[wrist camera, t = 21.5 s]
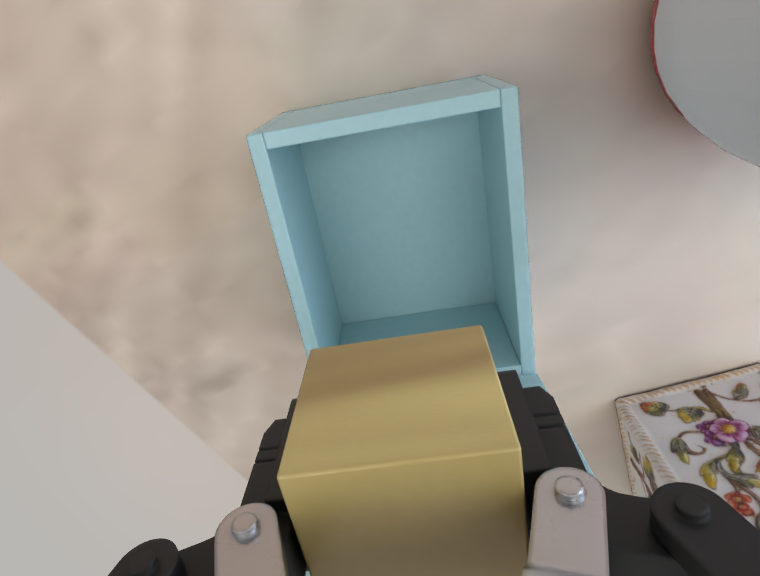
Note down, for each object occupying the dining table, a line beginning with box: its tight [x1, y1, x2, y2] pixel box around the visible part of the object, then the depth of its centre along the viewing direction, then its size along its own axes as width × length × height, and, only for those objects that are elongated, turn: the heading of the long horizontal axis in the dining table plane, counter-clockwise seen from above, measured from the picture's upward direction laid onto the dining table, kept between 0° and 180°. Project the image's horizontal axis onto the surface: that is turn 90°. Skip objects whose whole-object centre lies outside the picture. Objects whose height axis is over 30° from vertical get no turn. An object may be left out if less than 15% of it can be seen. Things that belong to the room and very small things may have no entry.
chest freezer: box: [246, 75, 536, 376], centre depth 31 cm, size 16×13×9 cm
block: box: [277, 325, 529, 576], centre depth 12 cm, size 4×4×4 cm
